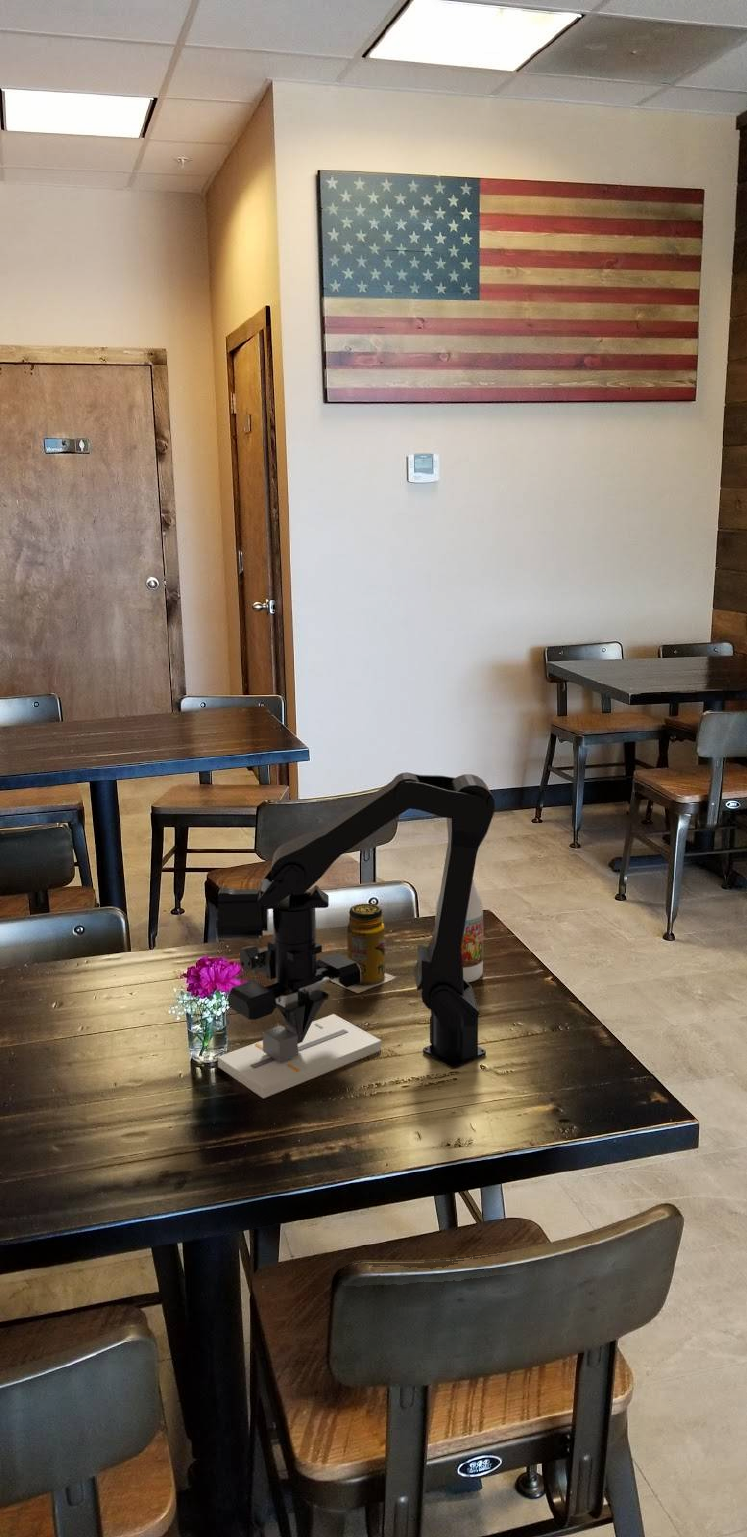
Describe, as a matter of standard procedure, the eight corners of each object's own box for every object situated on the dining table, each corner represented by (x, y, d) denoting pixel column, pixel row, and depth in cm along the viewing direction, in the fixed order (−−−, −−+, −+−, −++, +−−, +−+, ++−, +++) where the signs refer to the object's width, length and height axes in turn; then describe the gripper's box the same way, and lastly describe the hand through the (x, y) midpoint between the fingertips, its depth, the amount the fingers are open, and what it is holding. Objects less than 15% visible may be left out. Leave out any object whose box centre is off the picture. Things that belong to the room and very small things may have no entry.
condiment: (396, 978, 182) (395, 908, 180) (358, 994, 177) (357, 922, 174) (365, 965, 188) (364, 897, 185) (327, 980, 182) (325, 910, 179)
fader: (298, 1055, 154) (297, 1035, 153) (279, 1062, 152) (279, 1042, 151) (281, 1045, 157) (280, 1025, 156) (263, 1051, 155) (262, 1031, 154)
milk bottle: (430, 981, 181) (429, 863, 176) (441, 962, 188) (441, 848, 183) (477, 987, 179) (478, 867, 174) (486, 967, 186) (488, 852, 181)
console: (381, 1050, 159) (381, 1039, 158) (263, 1098, 146) (262, 1087, 146) (333, 1023, 167) (333, 1013, 167) (218, 1066, 155) (217, 1056, 154)
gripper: (315, 904, 164) (317, 1003, 168) (203, 936, 153) (209, 1042, 156) (362, 926, 156) (364, 1029, 159) (249, 961, 144) (253, 1072, 148)
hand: (297, 1042), depth 156 cm, fingers closed
